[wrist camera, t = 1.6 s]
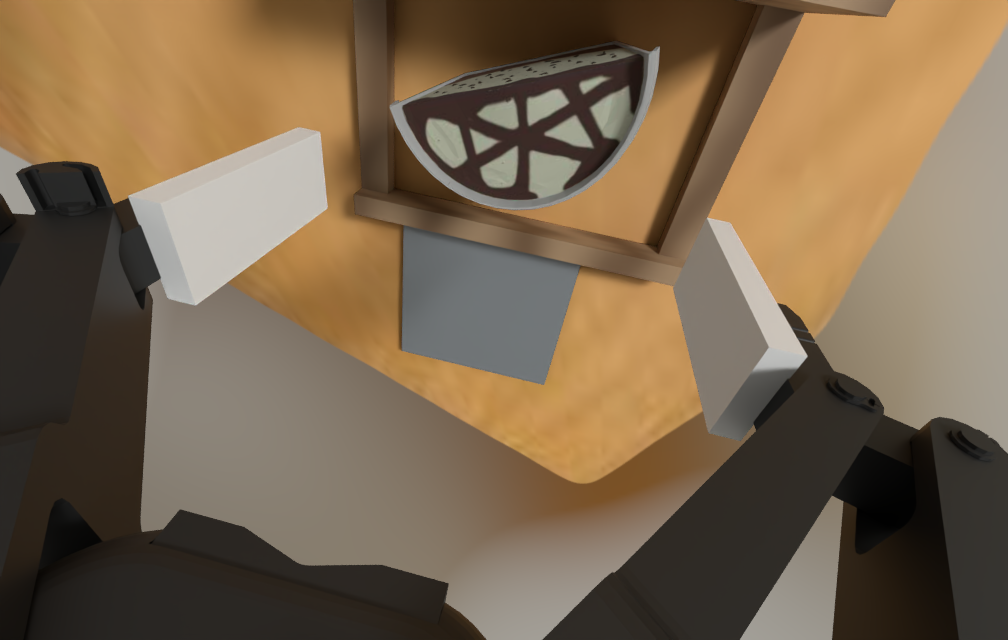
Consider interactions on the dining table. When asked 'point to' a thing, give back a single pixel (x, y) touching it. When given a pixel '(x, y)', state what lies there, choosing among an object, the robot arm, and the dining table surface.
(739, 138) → the wooden frame
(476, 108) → the food container
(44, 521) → the robot arm
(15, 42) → the dining table surface
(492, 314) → the mat
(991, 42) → the dining table surface
